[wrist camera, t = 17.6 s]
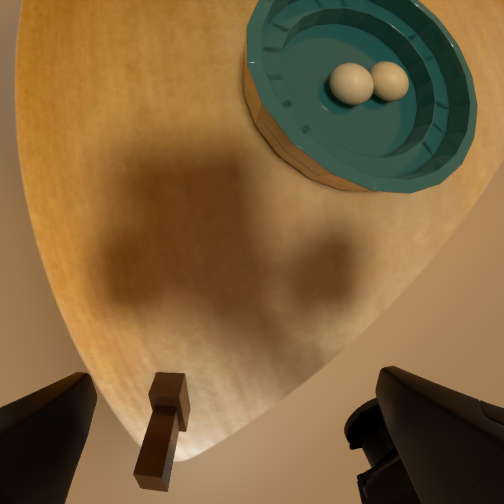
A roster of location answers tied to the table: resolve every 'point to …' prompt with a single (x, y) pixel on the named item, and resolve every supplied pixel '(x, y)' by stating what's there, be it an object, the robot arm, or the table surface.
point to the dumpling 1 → (351, 83)
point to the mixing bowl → (365, 114)
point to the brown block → (162, 431)
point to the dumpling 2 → (389, 81)
